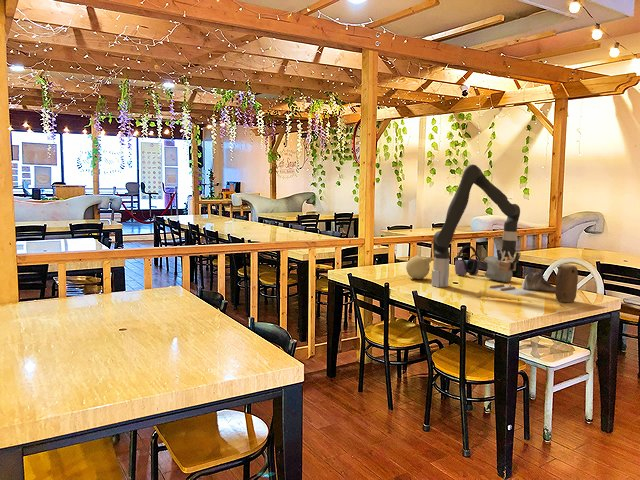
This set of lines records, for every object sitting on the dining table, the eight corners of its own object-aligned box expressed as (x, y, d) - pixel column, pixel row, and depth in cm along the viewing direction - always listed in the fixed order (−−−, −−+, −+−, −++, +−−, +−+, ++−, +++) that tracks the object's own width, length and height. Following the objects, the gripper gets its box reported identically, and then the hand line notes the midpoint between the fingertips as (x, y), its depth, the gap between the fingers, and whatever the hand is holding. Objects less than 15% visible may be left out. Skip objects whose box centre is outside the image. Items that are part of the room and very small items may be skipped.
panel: (516, 298, 285) (517, 291, 284) (485, 290, 303) (485, 284, 303) (535, 295, 293) (536, 288, 292) (503, 288, 311) (504, 282, 311)
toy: (434, 280, 332) (435, 257, 330) (414, 282, 326) (415, 258, 325) (420, 276, 347) (421, 253, 346) (400, 277, 342) (401, 254, 340)
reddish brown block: (506, 271, 292) (507, 262, 292) (498, 270, 296) (499, 261, 296) (515, 270, 298) (516, 261, 298) (507, 269, 302) (508, 260, 301)
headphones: (480, 275, 354) (482, 245, 352) (462, 277, 346) (463, 247, 343) (470, 273, 362) (471, 244, 360) (452, 274, 354) (453, 245, 352)
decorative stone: (501, 283, 325) (502, 259, 323) (481, 279, 340) (482, 256, 338) (515, 282, 330) (516, 258, 329) (494, 277, 345) (495, 255, 344)
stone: (564, 304, 271) (567, 266, 269) (552, 301, 277) (554, 264, 275) (578, 301, 278) (580, 264, 275) (565, 299, 283) (568, 262, 281)
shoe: (571, 295, 295) (572, 273, 293) (567, 298, 286) (568, 276, 285) (525, 289, 310) (526, 268, 308) (520, 292, 301) (521, 271, 299)
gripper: (524, 240, 292) (522, 270, 294) (501, 237, 303) (499, 266, 305) (517, 240, 287) (515, 271, 289) (494, 238, 298) (492, 267, 300)
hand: (507, 268), depth 297 cm, fingers closed on reddish brown block, 5 cm apart
